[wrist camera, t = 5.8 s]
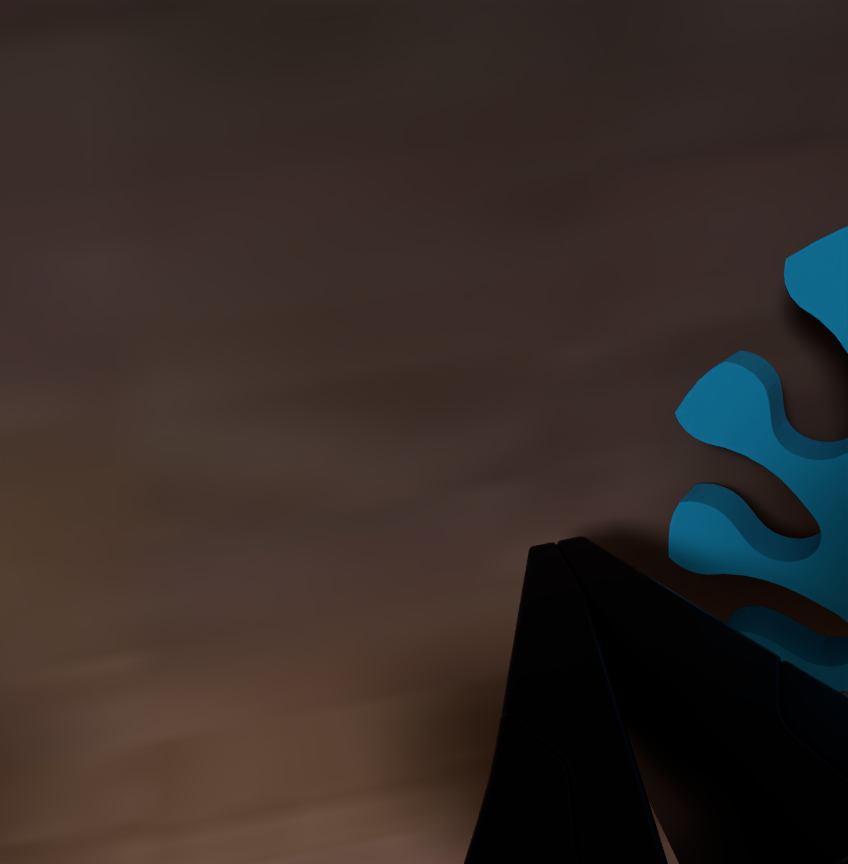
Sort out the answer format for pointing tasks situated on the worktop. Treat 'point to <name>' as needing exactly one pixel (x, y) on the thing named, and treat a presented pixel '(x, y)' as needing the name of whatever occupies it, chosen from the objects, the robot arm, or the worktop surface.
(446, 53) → the worktop surface
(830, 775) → the robot arm
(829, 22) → the worktop surface
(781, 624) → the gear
